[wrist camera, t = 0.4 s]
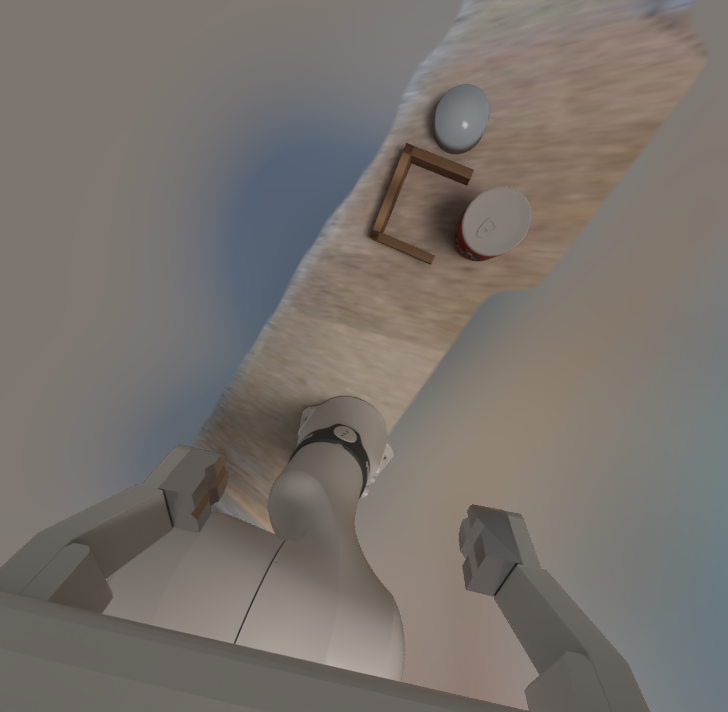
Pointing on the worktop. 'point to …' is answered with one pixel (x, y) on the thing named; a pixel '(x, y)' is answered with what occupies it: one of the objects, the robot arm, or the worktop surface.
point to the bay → (408, 157)
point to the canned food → (493, 224)
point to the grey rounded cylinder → (461, 118)
